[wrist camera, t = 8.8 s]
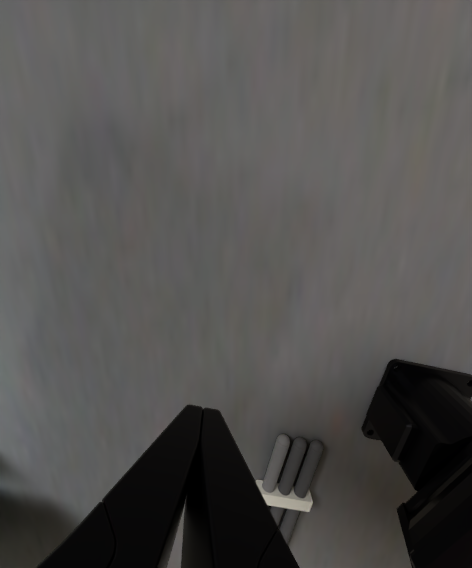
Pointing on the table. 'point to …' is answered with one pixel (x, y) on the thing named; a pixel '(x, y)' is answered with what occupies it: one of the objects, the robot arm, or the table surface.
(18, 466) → the table surface
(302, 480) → the dressed cords
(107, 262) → the table surface
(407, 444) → the robot arm
